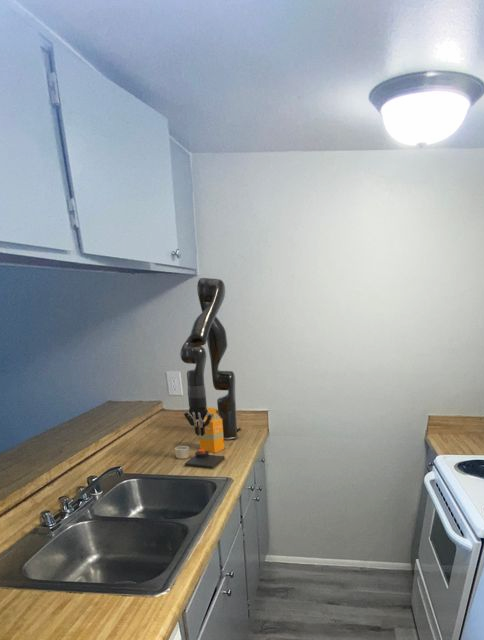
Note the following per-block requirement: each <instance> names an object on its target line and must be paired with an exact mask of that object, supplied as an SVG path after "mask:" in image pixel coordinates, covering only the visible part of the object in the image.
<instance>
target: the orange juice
mask: <svg viewBox="0 0 484 640" xmlns="http://www.w3.org/2000/svg"><path fill="white" fill-rule="evenodd" d="M206 408H207V410H208V412H209V413H210V414H213V417H212V419H211V421H210V423H209V425H208V426H206V427H205V434H204V435H203V436H201V433H200V435H199V436H198V439H199V449H205V451H208V453H209V452H210V453H217V452H219V451H222V450H224V449H225V442H224V441H225V440H223V424H222V418H221V416H220V414H219V413H218V408H216V407H215V408H214V407H208V406H207V407H206ZM206 420H207V415H206V416H205V422H206ZM199 427H200V422H199ZM200 428H201V427H200Z"/></svg>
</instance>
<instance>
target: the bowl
mask: <svg viewBox="0 0 484 640" xmlns="http://www.w3.org/2000/svg"><path fill="white" fill-rule="evenodd" d="M174 451H175V452H174V453H175V458H176V459H179V460H185V459H188V458H190V456H191V455H190V453H191V452H190V447H189V446H187V445H177V446H176V447H175V448H174Z"/></svg>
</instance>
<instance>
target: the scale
mask: <svg viewBox="0 0 484 640" xmlns="http://www.w3.org/2000/svg"><path fill="white" fill-rule="evenodd" d="M225 459H226V456H224V455H216V454H209V451H205V453H204V454H199V453H198V450H197V451H195V452H194V456H193V457H192V458H190V459H188V460H187V461H186V462H185V463H184V466H185V467H188V468H189V467H190V468H198V469H199V468H200V469H210V470H214V469H215V468H216V467H217V466H218V465H219V464H220V463H222V462H223V461H225Z"/></svg>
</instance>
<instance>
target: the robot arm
mask: <svg viewBox="0 0 484 640" xmlns="http://www.w3.org/2000/svg"><path fill="white" fill-rule="evenodd" d="M196 285H197V286H196V290H197V296H198V301H199V305H200V309H201V313H200V314H199V315H198V316H197V317H196V318H195V320H194V322H193V324H192V328H191V331H190V333H189V336H188V337H187V338H186V340H185V341H184V343H183V345H182V346H181V348H180V353H179V356H180V360H181V361H182V362H183V363H185V364H187V365H189V364H191V365H195V367H194V368H193V369H189V370H187V371H186V380H187V381H186V384H187V399H188V407H189V409H188V411H187V412H184V414H183V416H184V418H185V419H186V420H187V422H188V423H189V425H190V426H193V427H194V432H195V435H196V436H198V437H199V435H200V433H201V436H203V435H204V434H205V427H206V426H208V425H209V423H210V421H211V419H212V417H213V414H210V413H209V412H208V410H207V408H206V407H208V406H207V393H206V385H205V368H206V361H207V351H206V349H205V347H204V346H205V345H206V344H207V348H208V354H209V359H210V368H211V369H210V370H211V378H212V379H211V380H212V385H213V388H214V390H216V391H227V393H226V394H225V395H223V396H219V397H217V398H216V399H217V400H216V402H217V403H216V405H217V411H218V413H219V414H220V416H221V418H222V424H223V440H224V441H231V440H235V439H238V432H239V431H240V430H241V427H238V423H237V422H238V421H237V400H236V399H237V398H236V397H237V396H236V375H235V371H232V370H220V367H219V366H220V363H221V361H222V358H223V357H224V355H225V353H226V352H227V351H226V350H227V349H228V336H227V331H226V328H225V326H224V324H223V323H222V322H221V320H220V319H219V318H218V317H217V315H218V313H219V311H220V309H221V307H222V305H223V303H224V301H225V298H226V285H225V282H224V281H223V280H222V279H220V278H209V277H200V278H199V279H198V280H197V283H196ZM206 415H207V420H206V422H205V416H206ZM199 422H200V427H201V428H200V427H199Z"/></svg>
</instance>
